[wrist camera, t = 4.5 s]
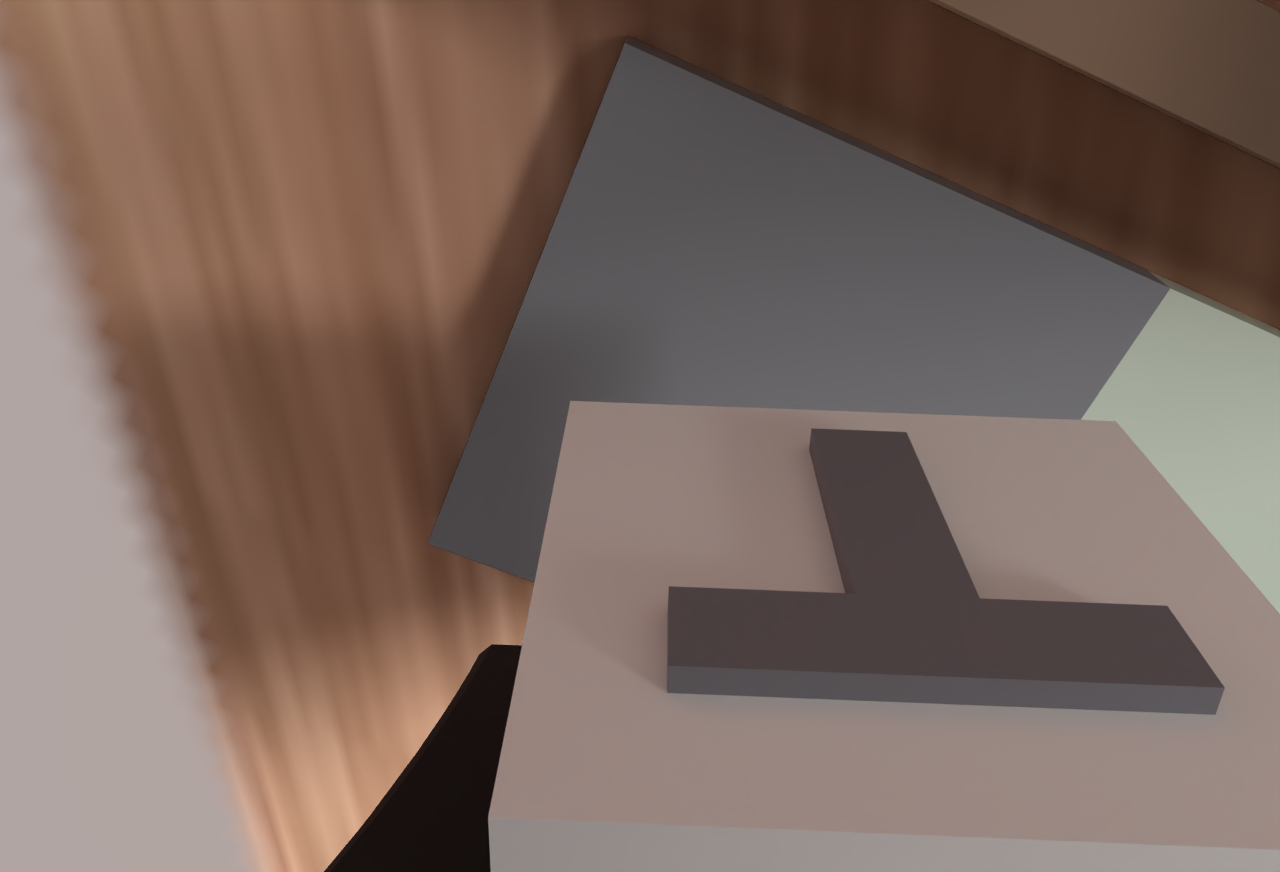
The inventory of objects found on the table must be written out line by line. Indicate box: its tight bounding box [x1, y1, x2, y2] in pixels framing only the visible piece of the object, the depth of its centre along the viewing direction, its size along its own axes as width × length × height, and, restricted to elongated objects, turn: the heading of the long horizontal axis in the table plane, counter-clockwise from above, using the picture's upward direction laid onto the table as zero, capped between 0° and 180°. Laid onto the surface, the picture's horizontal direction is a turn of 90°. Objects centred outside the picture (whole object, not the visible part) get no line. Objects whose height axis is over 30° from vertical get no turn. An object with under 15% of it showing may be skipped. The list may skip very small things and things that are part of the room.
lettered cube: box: [488, 401, 1280, 872], centre depth 9 cm, size 5×5×5 cm
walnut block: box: [928, 0, 1280, 169], centre depth 12 cm, size 20×1×4 cm, turn 67°
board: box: [428, 36, 1280, 614], centre depth 17 cm, size 16×8×1 cm, turn 67°
